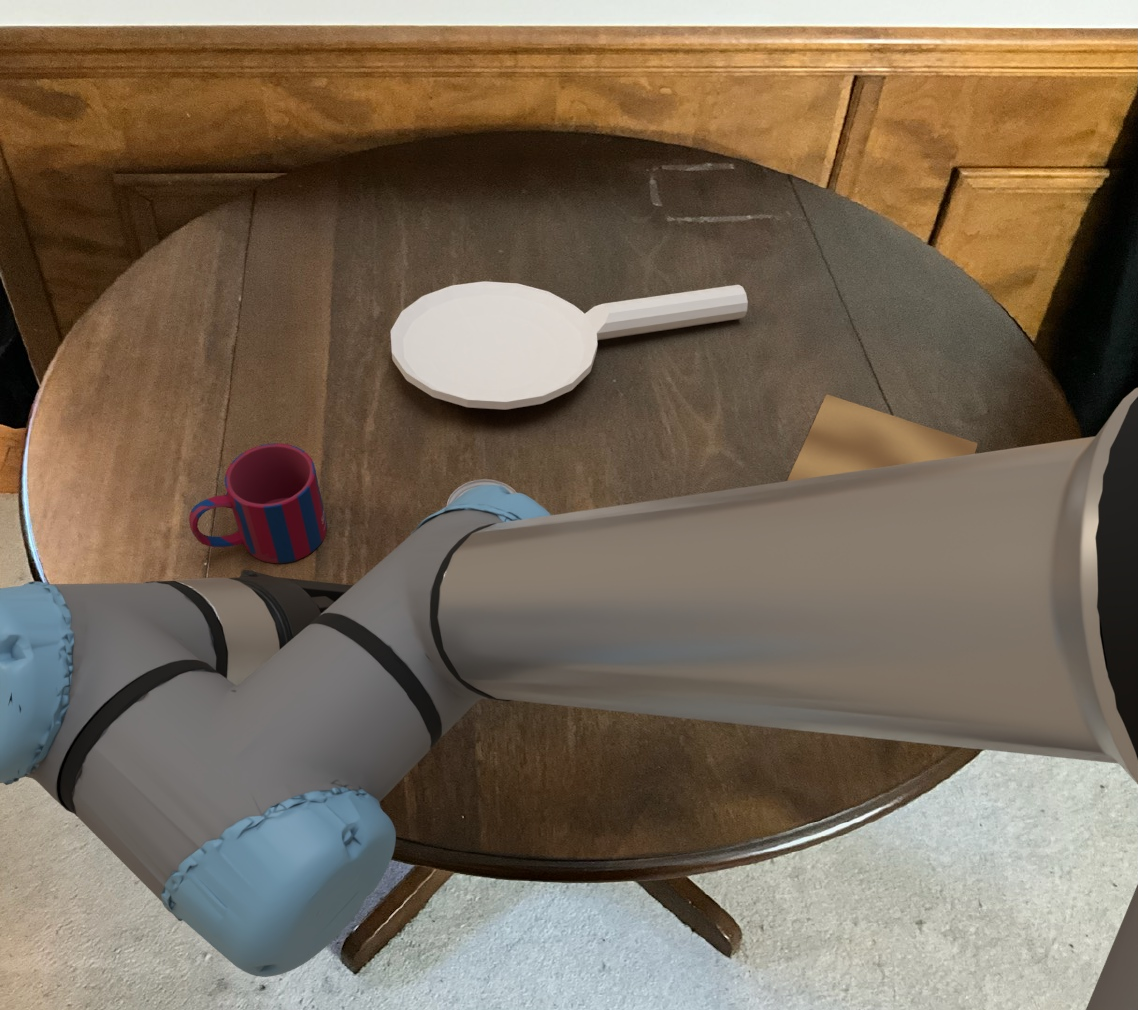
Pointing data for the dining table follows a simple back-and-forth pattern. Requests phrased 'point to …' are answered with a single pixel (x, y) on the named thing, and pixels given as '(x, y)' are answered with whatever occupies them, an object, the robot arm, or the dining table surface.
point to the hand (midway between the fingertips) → (448, 621)
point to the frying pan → (529, 338)
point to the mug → (270, 504)
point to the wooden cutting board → (869, 441)
